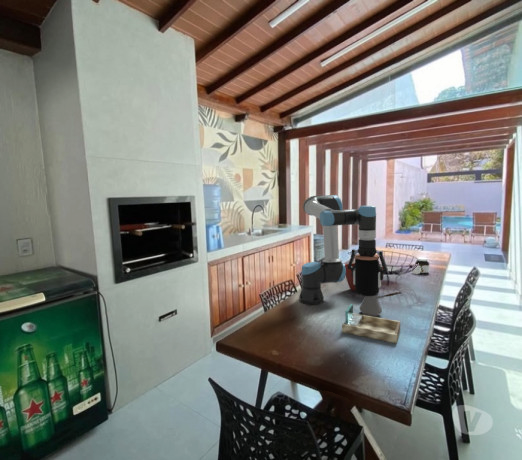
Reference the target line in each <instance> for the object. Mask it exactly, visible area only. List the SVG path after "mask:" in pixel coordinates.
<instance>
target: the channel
mask: <svg viewBox="0 0 522 460" xmlns="http://www.w3.org/2000/svg"><path fill="white" fill-rule="evenodd" d="M353 314H355V315H361V316H362V323H361V325H360V327H357V326H352V325H347V324H344V323H342V324H341V332H342V333H343V334H349V335H352V336H353V335H354V336H359V337H364V338H368V339H373V340H378V341H381V342H387V343H392V344H397V343H398V340H399V336H400V332H401V321H400V320H395V319H394V320H393V319H388V318H383V317H382V318H381V317H378V316H376V317H372V316H366V315H364V314H359V313H354V312H353Z"/></svg>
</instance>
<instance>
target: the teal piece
mask: <svg viewBox="0 0 522 460" xmlns="http://www.w3.org/2000/svg"><path fill="white" fill-rule="evenodd" d="M344 312H345V315H344V316H345V321H344V322H343V324H347V325H352V326H357V327H360V325H361V323H362V316H361V315H362V314H360V315H355V314H356V313H354V304H353V303H349V305H348V307H347V308H346V310H345V311H344ZM353 313H354V314H353Z"/></svg>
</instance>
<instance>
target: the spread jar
mask: <svg viewBox="0 0 522 460" xmlns="http://www.w3.org/2000/svg"><path fill="white" fill-rule="evenodd" d="M418 263H419V265H418V266H417V267H416V268H415V269H414V270H413V271H412V270H411V273H412V274H414V275H426V274H428V273H429V272H430V262H429V261H428V258H427V257H417V260H416V261H415V262H414V265H415V264H418Z"/></svg>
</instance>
